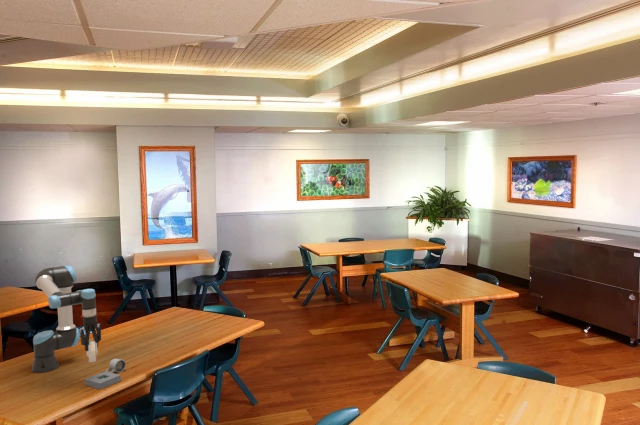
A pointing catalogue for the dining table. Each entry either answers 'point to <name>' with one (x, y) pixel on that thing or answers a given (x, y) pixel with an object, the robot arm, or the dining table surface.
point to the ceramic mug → (116, 365)
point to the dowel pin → (92, 351)
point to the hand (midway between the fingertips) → (92, 354)
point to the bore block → (102, 380)
